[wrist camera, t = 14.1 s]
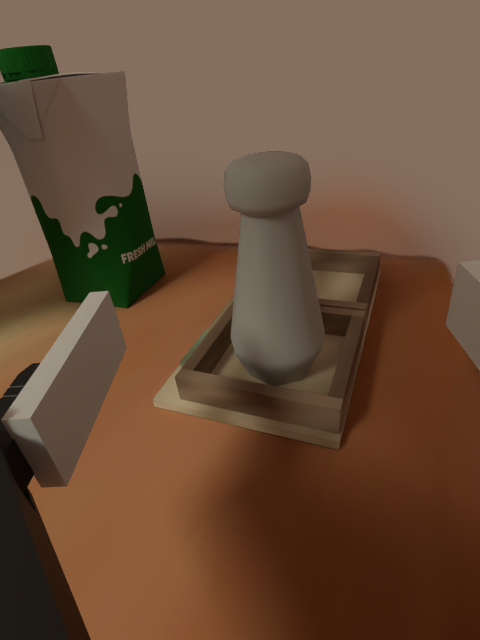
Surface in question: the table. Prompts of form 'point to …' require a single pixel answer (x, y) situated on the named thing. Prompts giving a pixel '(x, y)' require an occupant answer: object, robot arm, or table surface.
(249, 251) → the salt shaker
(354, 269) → the socket board
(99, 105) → the milk carton
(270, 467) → the table surface
